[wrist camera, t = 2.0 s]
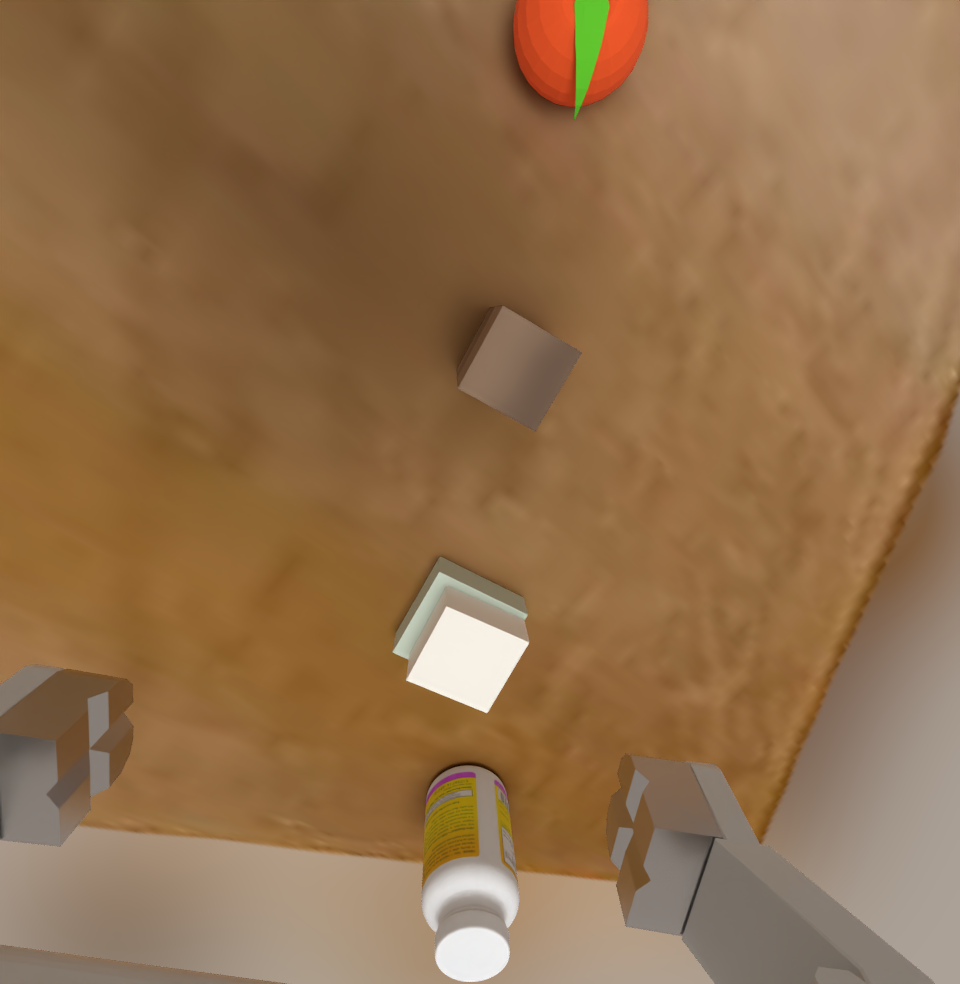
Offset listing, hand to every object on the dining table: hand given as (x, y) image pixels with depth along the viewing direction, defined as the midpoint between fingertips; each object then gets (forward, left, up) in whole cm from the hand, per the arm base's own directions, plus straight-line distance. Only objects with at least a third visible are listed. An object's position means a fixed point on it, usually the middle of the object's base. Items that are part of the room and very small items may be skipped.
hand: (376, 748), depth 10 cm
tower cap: (+9, -12, -29) cm, 33 cm away
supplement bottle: (+17, -26, -32) cm, 44 cm away
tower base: (+9, -12, -32) cm, 35 cm away
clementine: (-3, +22, -32) cm, 39 cm away
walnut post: (+2, +6, -32) cm, 32 cm away
